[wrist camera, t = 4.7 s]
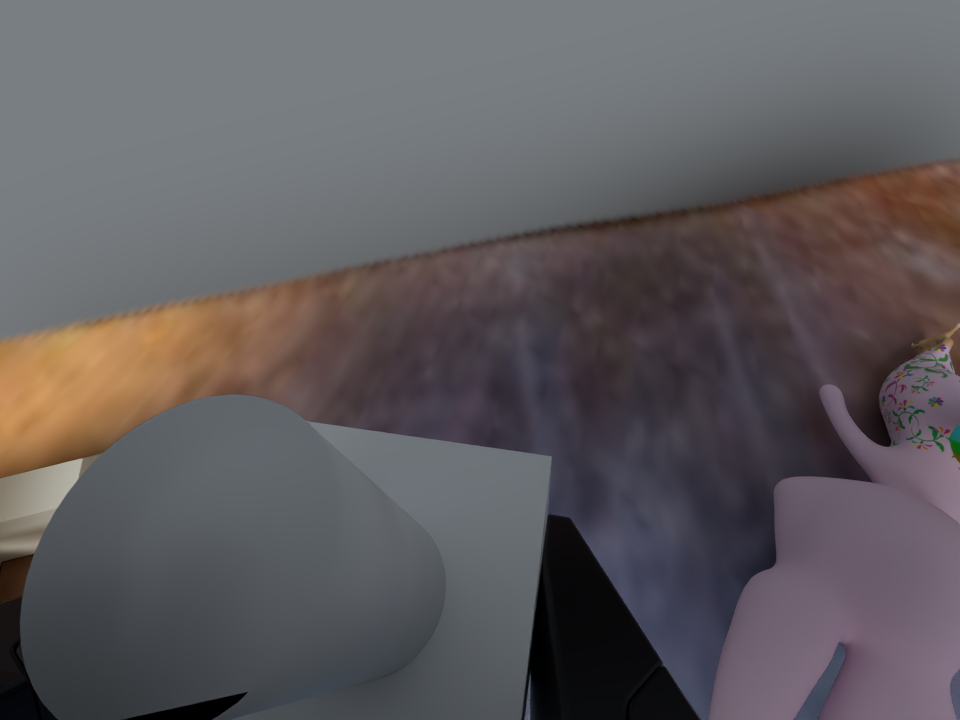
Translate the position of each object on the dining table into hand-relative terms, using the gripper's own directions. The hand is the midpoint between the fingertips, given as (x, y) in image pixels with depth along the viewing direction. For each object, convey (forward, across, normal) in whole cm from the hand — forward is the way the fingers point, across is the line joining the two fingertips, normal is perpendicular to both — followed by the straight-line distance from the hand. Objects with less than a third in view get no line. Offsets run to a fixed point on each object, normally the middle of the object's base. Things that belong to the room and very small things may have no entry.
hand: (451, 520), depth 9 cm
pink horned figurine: (+7, -10, +3) cm, 13 cm away
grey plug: (+4, 0, +6) cm, 7 cm away
